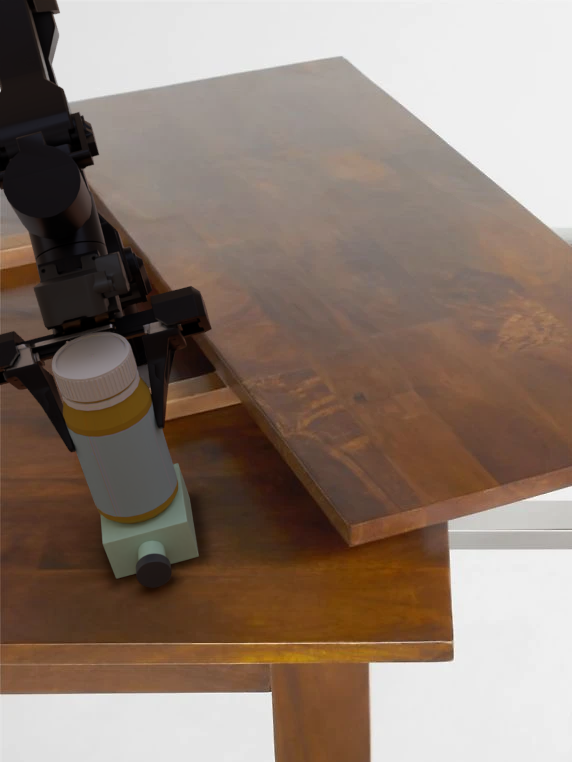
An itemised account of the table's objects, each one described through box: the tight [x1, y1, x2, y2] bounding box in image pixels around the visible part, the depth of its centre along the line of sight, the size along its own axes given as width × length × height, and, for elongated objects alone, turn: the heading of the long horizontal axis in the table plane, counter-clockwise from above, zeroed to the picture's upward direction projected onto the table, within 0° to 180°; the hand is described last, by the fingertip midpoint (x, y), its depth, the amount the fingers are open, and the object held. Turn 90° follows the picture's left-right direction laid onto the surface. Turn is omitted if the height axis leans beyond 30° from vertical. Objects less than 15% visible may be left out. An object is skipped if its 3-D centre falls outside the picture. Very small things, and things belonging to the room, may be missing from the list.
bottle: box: [51, 332, 178, 524], centre depth 111 cm, size 7×7×15 cm
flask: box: [100, 462, 200, 588], centre depth 115 cm, size 11×7×4 cm, turn 12°
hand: (117, 439), depth 110 cm, fingers closed on bottle, 7 cm apart
